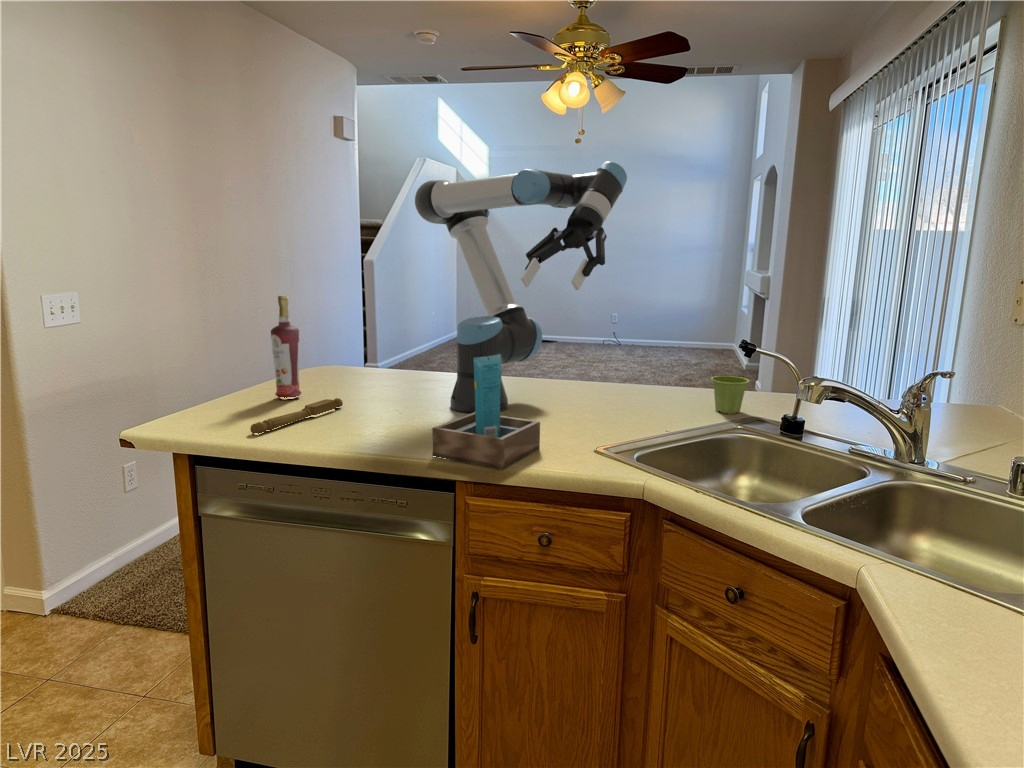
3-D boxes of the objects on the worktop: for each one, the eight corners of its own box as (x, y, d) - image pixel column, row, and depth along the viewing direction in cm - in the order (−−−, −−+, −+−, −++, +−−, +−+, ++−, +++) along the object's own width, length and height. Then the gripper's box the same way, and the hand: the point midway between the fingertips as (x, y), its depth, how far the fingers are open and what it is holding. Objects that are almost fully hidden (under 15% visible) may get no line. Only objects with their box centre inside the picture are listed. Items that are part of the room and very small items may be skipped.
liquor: (308, 397, 188) (303, 296, 182) (286, 402, 182) (280, 297, 176) (290, 394, 192) (285, 294, 186) (268, 398, 186) (262, 296, 180)
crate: (432, 456, 136) (432, 428, 135) (475, 438, 150) (475, 411, 149) (501, 470, 129) (501, 439, 128) (539, 449, 143) (540, 421, 141)
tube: (490, 442, 144) (490, 352, 140) (508, 446, 141) (509, 355, 137) (466, 450, 138) (466, 356, 134) (484, 454, 135) (485, 359, 131)
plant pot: (748, 417, 172) (751, 383, 171) (710, 414, 174) (712, 381, 173) (744, 408, 181) (746, 376, 180) (707, 406, 183) (709, 375, 182)
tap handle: (248, 422, 151) (335, 396, 177) (249, 436, 151) (335, 407, 178) (259, 424, 149) (344, 397, 176) (260, 437, 150) (345, 408, 177)
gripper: (641, 228, 151) (603, 299, 143) (551, 229, 167) (512, 293, 158) (631, 202, 146) (591, 274, 138) (538, 205, 162) (497, 270, 153)
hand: (548, 284), depth 148 cm, fingers open, 13 cm apart
